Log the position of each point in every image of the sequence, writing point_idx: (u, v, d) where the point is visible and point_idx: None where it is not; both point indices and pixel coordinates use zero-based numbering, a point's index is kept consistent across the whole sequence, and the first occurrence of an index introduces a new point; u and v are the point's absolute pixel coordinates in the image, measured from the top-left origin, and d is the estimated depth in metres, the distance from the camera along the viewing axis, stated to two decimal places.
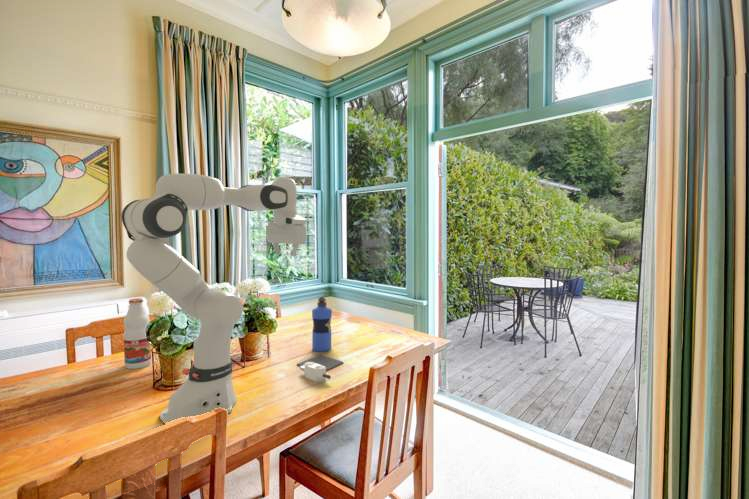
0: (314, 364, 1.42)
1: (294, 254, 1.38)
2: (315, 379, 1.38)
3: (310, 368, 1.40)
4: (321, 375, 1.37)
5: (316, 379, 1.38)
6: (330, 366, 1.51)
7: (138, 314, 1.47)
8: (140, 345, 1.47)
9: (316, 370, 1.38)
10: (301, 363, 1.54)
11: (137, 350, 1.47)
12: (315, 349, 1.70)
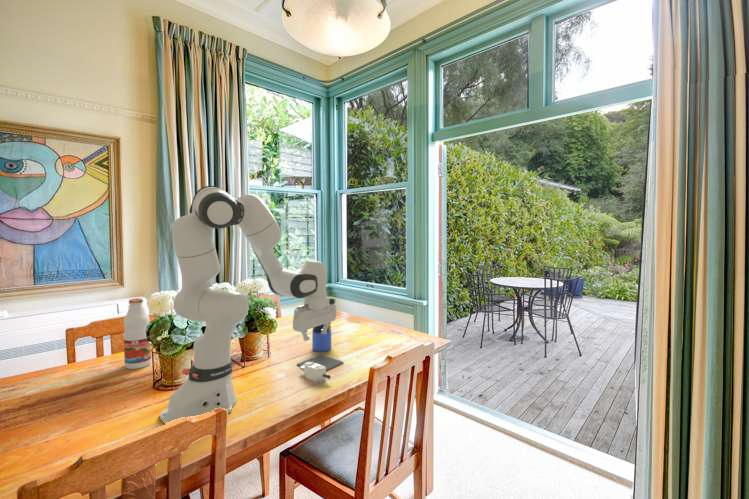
0: (314, 364, 1.42)
1: None
2: (315, 379, 1.38)
3: (310, 368, 1.40)
4: (321, 375, 1.37)
5: (316, 379, 1.38)
6: (330, 366, 1.51)
7: (138, 314, 1.47)
8: (140, 345, 1.47)
9: (316, 370, 1.38)
10: (301, 363, 1.54)
11: (137, 350, 1.47)
12: (315, 349, 1.70)
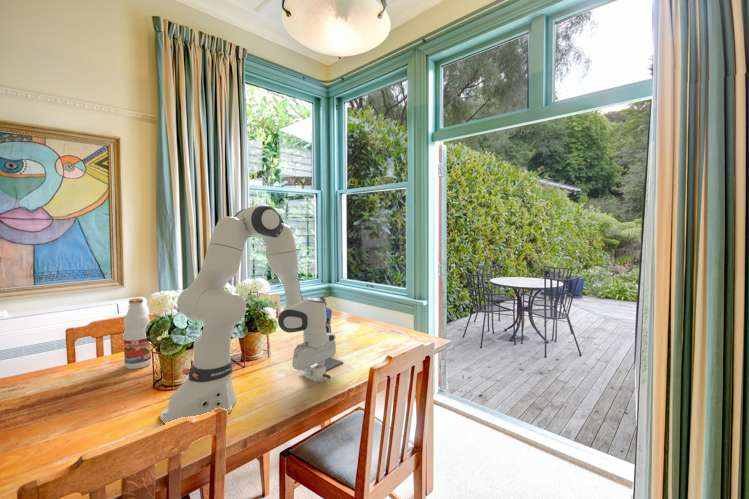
0: (314, 364, 1.42)
1: None
2: (315, 379, 1.38)
3: (310, 368, 1.40)
4: (321, 375, 1.37)
5: (316, 379, 1.38)
6: (330, 366, 1.51)
7: (138, 314, 1.47)
8: (140, 345, 1.47)
9: (316, 370, 1.38)
10: None
11: (137, 350, 1.47)
12: None
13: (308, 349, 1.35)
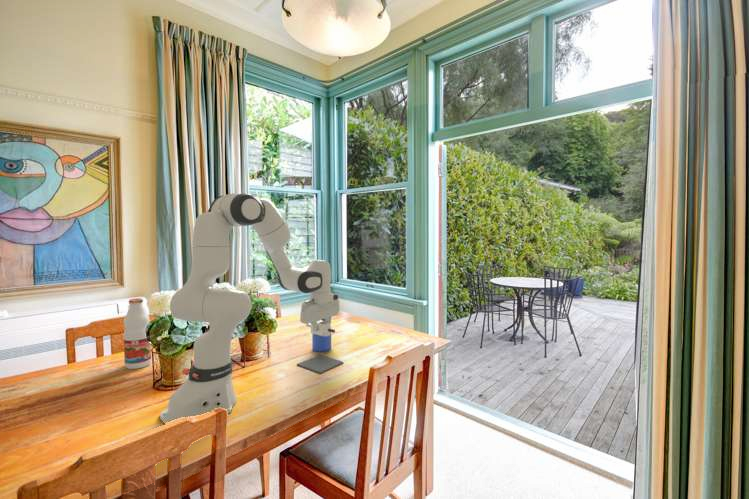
0: (320, 320, 1.55)
1: None
2: (321, 333, 1.51)
3: (316, 324, 1.52)
4: (326, 329, 1.50)
5: (321, 333, 1.51)
6: (330, 366, 1.51)
7: (138, 314, 1.47)
8: (140, 345, 1.47)
9: (322, 325, 1.50)
10: (301, 363, 1.54)
11: (137, 350, 1.47)
12: (315, 349, 1.70)
13: (314, 305, 1.48)
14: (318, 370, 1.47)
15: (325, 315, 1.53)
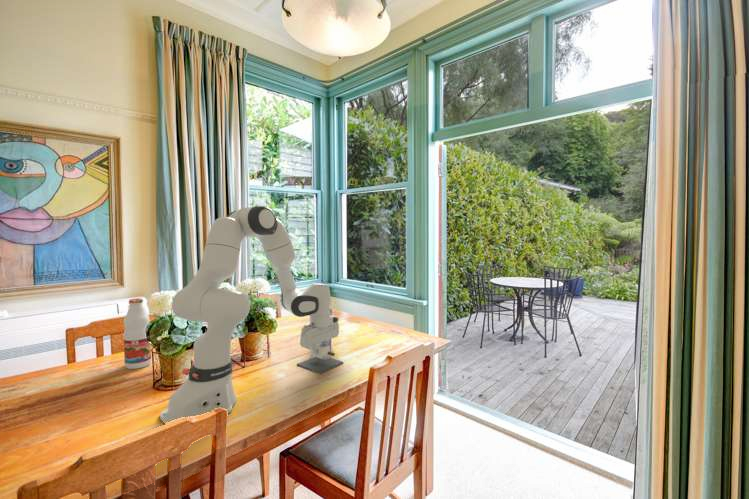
0: (319, 343, 1.56)
1: None
2: (320, 356, 1.52)
3: (316, 347, 1.53)
4: (326, 353, 1.51)
5: (321, 356, 1.52)
6: (330, 366, 1.51)
7: (138, 314, 1.47)
8: (140, 345, 1.47)
9: (321, 348, 1.51)
10: (301, 363, 1.54)
11: (137, 350, 1.47)
12: None
13: (314, 329, 1.49)
14: (318, 370, 1.47)
15: (325, 338, 1.54)
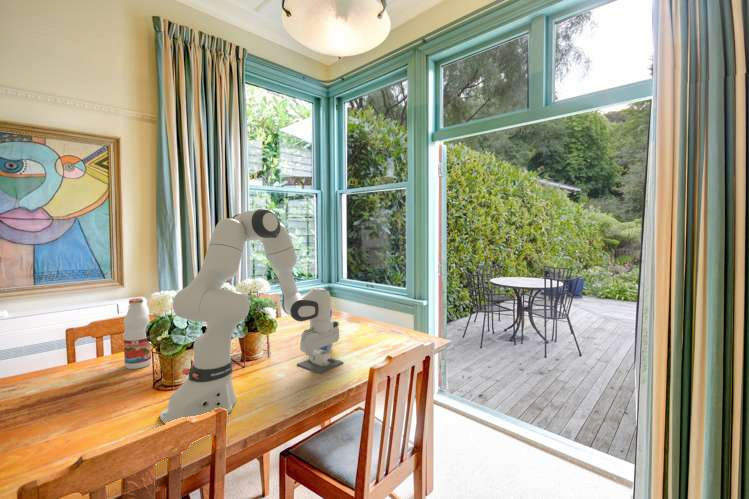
0: (320, 350, 1.56)
1: None
2: (320, 363, 1.52)
3: (316, 353, 1.53)
4: (326, 360, 1.51)
5: (321, 363, 1.51)
6: (330, 366, 1.51)
7: (138, 314, 1.47)
8: (140, 345, 1.47)
9: (321, 355, 1.51)
10: (301, 363, 1.54)
11: (137, 350, 1.47)
12: None
13: (314, 334, 1.49)
14: (318, 370, 1.47)
15: (325, 343, 1.54)
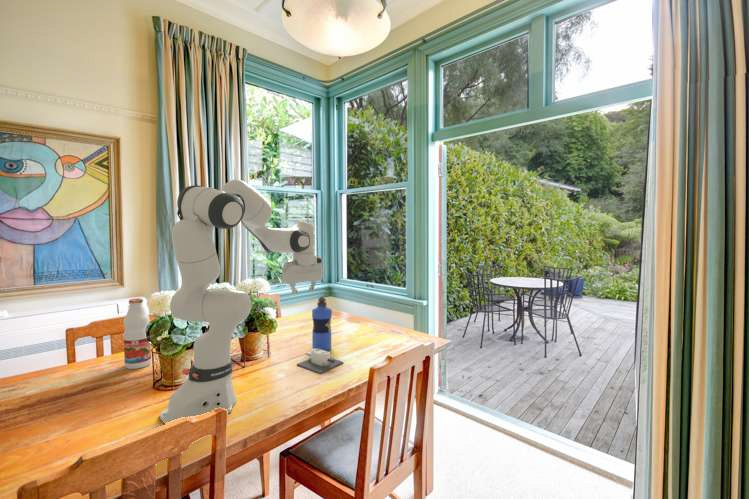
0: (320, 350, 1.56)
1: None
2: (320, 363, 1.52)
3: (316, 353, 1.53)
4: (326, 360, 1.51)
5: (321, 363, 1.51)
6: (330, 366, 1.51)
7: (138, 314, 1.47)
8: (140, 345, 1.47)
9: (321, 355, 1.51)
10: (301, 363, 1.54)
11: (137, 350, 1.47)
12: None
13: (297, 266, 1.47)
14: (318, 370, 1.47)
15: (308, 278, 1.52)
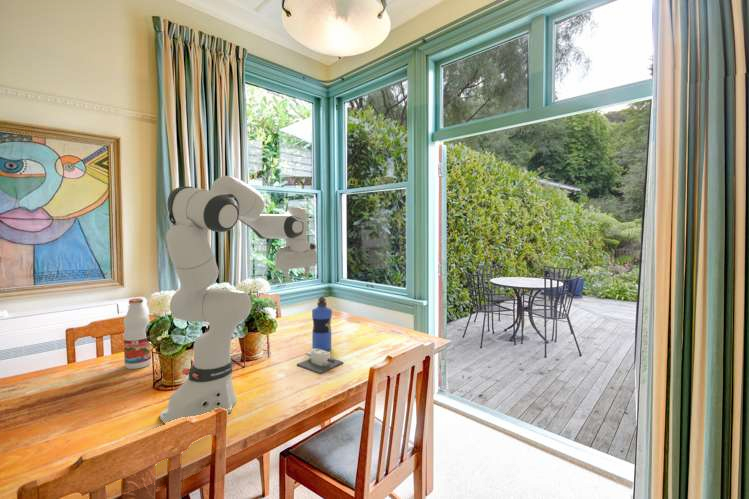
0: (320, 350, 1.56)
1: None
2: (320, 363, 1.52)
3: (316, 353, 1.53)
4: (326, 360, 1.51)
5: (321, 363, 1.51)
6: (330, 366, 1.51)
7: (138, 314, 1.47)
8: (140, 345, 1.47)
9: (321, 355, 1.51)
10: (301, 363, 1.54)
11: (137, 350, 1.47)
12: None
13: (290, 252, 1.46)
14: (318, 370, 1.47)
15: (301, 264, 1.51)
